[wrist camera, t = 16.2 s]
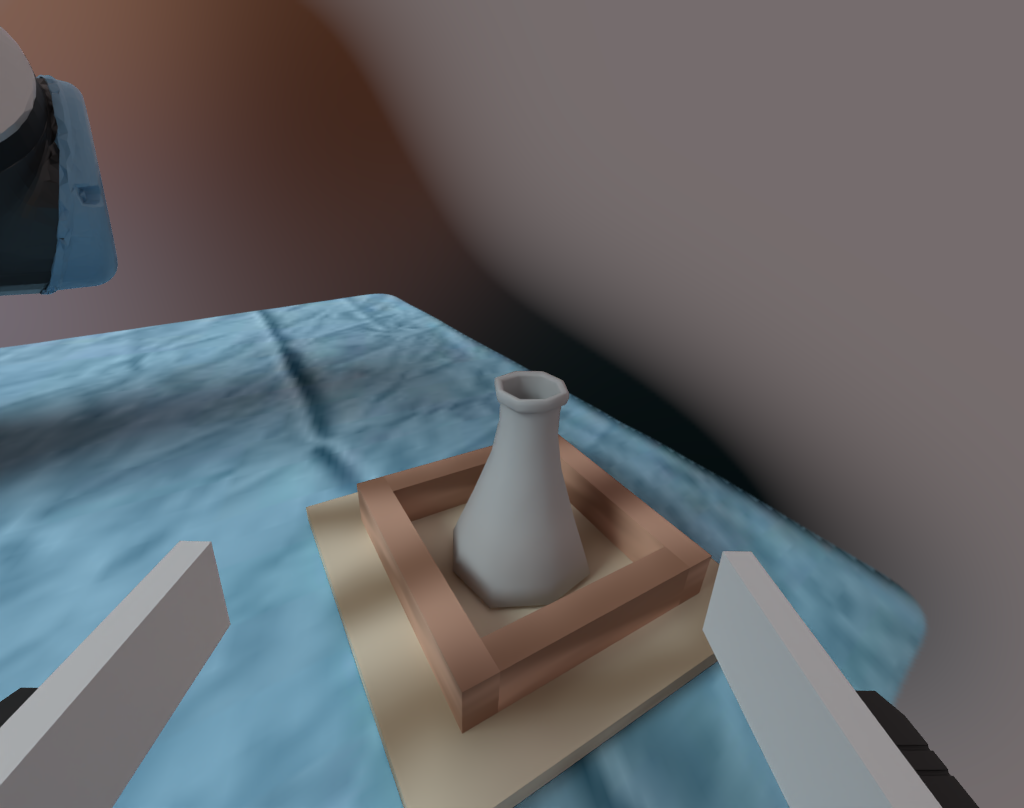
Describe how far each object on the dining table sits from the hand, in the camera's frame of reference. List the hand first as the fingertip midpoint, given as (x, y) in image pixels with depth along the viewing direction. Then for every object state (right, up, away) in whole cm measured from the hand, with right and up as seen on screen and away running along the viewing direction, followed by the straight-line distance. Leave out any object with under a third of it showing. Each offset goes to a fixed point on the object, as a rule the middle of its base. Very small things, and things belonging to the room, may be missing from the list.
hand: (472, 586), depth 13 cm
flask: (+1, -3, +13) cm, 13 cm away
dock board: (+1, -4, +13) cm, 14 cm away
